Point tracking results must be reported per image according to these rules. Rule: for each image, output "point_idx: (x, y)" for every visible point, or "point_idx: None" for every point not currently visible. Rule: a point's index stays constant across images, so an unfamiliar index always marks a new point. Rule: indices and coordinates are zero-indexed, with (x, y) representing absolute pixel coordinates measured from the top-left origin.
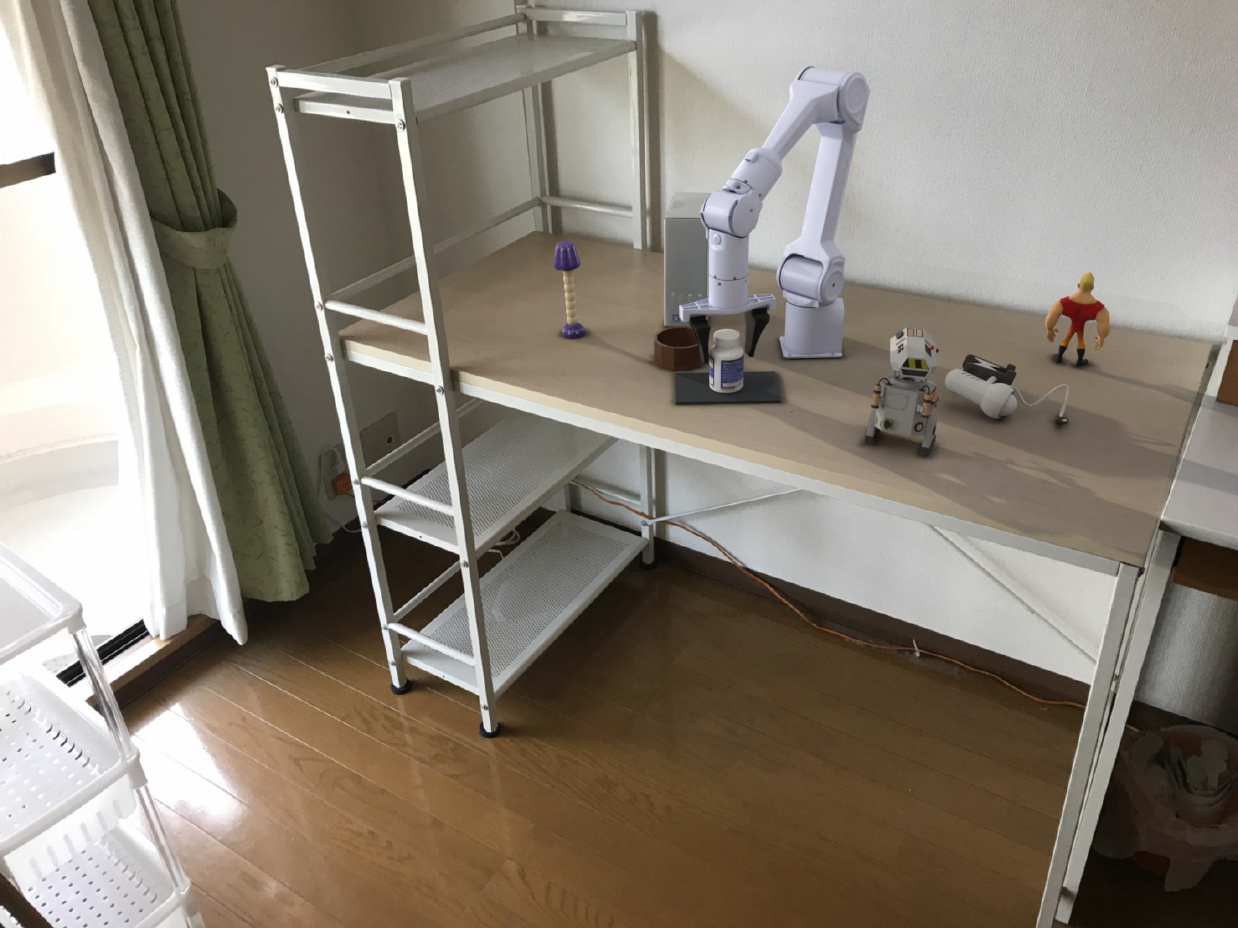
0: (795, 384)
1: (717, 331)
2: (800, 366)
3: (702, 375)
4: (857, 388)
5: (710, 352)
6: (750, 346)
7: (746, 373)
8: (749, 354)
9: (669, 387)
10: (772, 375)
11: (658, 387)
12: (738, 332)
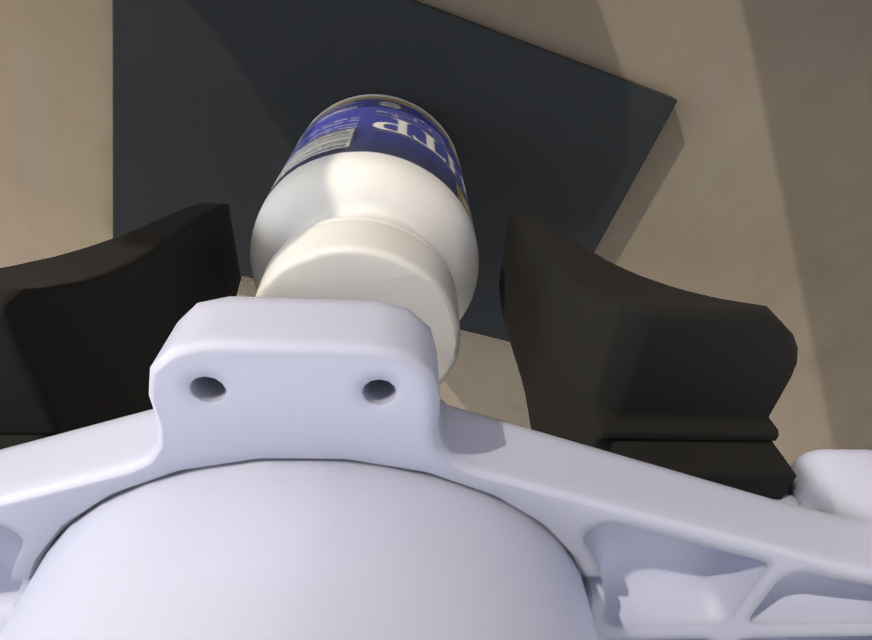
0: (681, 232)
1: (292, 278)
2: (840, 63)
3: (288, 1)
4: (850, 329)
5: (251, 264)
6: (512, 329)
7: (533, 72)
8: (501, 294)
9: (85, 52)
10: (637, 144)
11: (17, 28)
12: (455, 343)
